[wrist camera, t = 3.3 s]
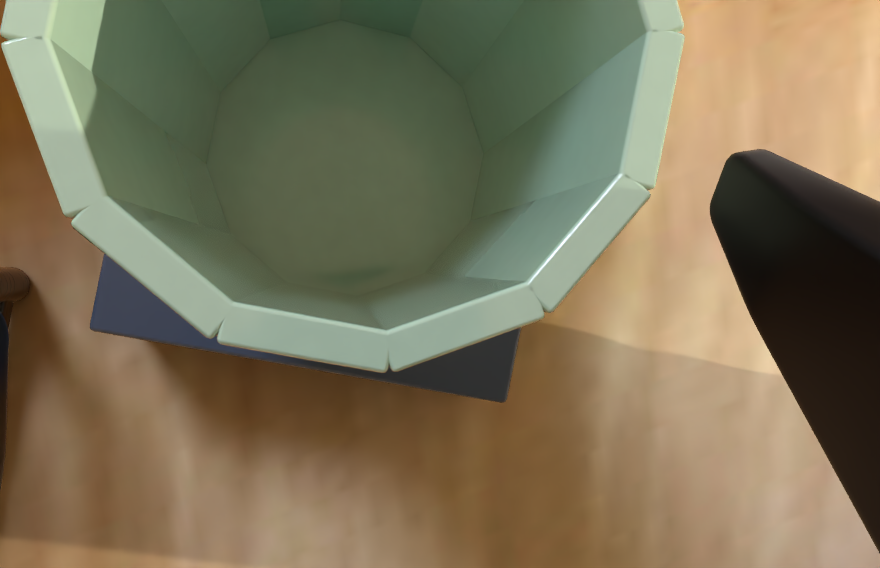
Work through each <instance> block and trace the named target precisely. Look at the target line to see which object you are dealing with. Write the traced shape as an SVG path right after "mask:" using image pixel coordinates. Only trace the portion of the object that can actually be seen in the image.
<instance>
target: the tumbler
mask: <svg viewBox="0 0 880 568" xmlns="http://www.w3.org/2000/svg"><path fill="white" fill-rule="evenodd" d="M683 28H684V22H683V19H682V16H681V12H680V9H679V6H678V2H677V0H6V4H5V9H4V14H3V19H2V24H1V29H0V34H1V36H2V37H3V38H5V39H6V40H8V41H5V42H3V43H1V47H2V51H3V54H4V56H5V59H6V62H7V64H8V67H9V70H10V72H11V75H12V78H13V80H14V83H15V86H16V89H17V91H18V94H19V97H20V99H21V102H22V105H23V107H24V110H25V113H26V115H27V118H28V121H29V123H30V126H31V129H32V132H33V134H34V137H35V140H36V142H37V145H38V148H39V150H40V153H41V156H42V158H43V161H44V164H45V166H46V169H47V172H48V175H49V177H50V180H51V183H52V185H53V188H54V191H55V193H56V196H57V199H58V201H59V204H60V207H61V209H62V212H63V214H64V215H65V216H66V217H68V218H73V220H72V222H71V225H72V227H73V228H74V229H75V230H76V231H78V232H79V233H80V234H81V235H83V236H84V237H85V238H86V239H87V240H89V241H90V242H91V243H92V244H93V245H95V246H96V247H97V248H98V249H99V250H101V251H102V252H103V253H104V254H106V255H107V256H108V257H109V258H110V259H112V260H113V261H114V262H115V263H116V264H118V265H119V266H120V267H121V268H123V269H124V270H125V271H126V272H127V273H129V274H130V275H131V276H132V277H133V278H135V279H136V280H137V281H138V282H139V283H141V284H142V285H143V286H144V287H146V288H147V289H148V290H149V291H150V292H152V293H153V294H154V295H155V296H156V297H158V298H159V299H160V300H161V301H163V302H164V303H165V304H166V305H167V306H169V307H170V308H171V309H172V310H173V311H175V312H176V313H177V314H178V315H180V316H181V317H182V318H183V319H184V320H186V321H187V322H188V323H189V324H190V325H192V326H193V327H194V328H195V329H196V330H198V331H199V332H200V333H201V334H203V335H204V336H205V337H206V338H209V339H212V338H214V337H215V336H217V342H218V343H220V344H221V345H227V346H233V347H238V348H244V349H249V350H255V351H261V352H266V353H272V354H278V355H283V356H289V357H295V358H300V359H306V360H311V361H317V362H323V363H328V364H334V365H340V366H345V367H351V368H357V369H362V370H368V371H373V372H379V373H384V372H386V371H387V370H388V367H390V369H391V370H392V371H393V372H398V371H401V370H403V369H406V368H409V367H412V366H414V365H417V364H420V363H423V362H426V361H428V360H431V359H434V358H437V357H440V356H442V355H445V354H448V353H451V352H453V351H456V350H459V349H462V348H465V347H467V346H470V345H473V344H476V343H479V342H481V341H484V340H487V339H490V338H492V337H495V336H498V335H501V334H504V333H506V332H509V331H512V330H515V329H517V328H520V327H523V326H526V325H529V324H531V323H534V322H537V321H540V320H542V319H543V318H544V312H546V313H552V312H553V311H554V310H555V309H556V308H557V307H558V305H559V304H560V303H561V302H562V301H563V300H564V298H565V297H566V296H567V295H568V294H569V292H570V291H571V290H572V289H573V288H574V287H575V285H576V284H577V283H578V282H579V281H580V280H581V278H582V277H583V276H584V275H585V274H586V272H587V271H588V270H589V269H590V268H591V267H592V265H593V264H594V263H595V262H596V261H597V259H598V258H599V257H600V256H601V255H602V254H603V252H604V251H605V250H606V249H607V248H608V247H609V245H610V244H611V243H612V242H613V241H614V239H615V238H616V237H617V236H618V235H619V234H620V232H621V231H622V230H623V229H624V228H625V226H626V225H627V224H628V223H629V222H630V221H631V219H632V218H633V217H634V216H635V215H636V213H637V212H638V211H639V210H640V209H641V208H642V206H643V205H644V204H645V203H646V202H647V201H648V199H649V198H650V193H649V191H648V190H651V189H653V188H654V187H655V185H656V180H657V175H658V170H659V165H660V160H661V155H662V150H663V145H664V140H665V135H666V130H667V124H668V119H669V114H670V109H671V104H672V99H673V94H674V89H675V84H676V79H677V74H678V69H679V64H680V59H681V54H682V49H683V44H684V39H685V37H684V35H683V34H681V33H679V32H680V31H681V30H683Z"/></svg>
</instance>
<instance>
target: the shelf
mask: <svg viewBox="0 0 880 568" xmlns="http://www.w3.org/2000/svg"><path fill="white" fill-rule="evenodd" d="M90 329H91V330H93V331H96V332H101V333H107V334H113V335H118V336H124V337H130V338H136V339H141V340H147V341H153V342H158V343H164V344H170V345H175V346H181V347H187V348H193V349H198V350H204V351H210V352H215V353H221V354H227V355H232V356H238V357H244V358H250V359H255V360H261V361H267V362H272V363H278V364H284V365H290V366H295V367H301V368H307V369H312V370H318V371H324V372H329V373H335V374H341V375H347V376H352V377H358V378H364V379H369V380H375V381H381V382H386V383H392V384H398V385H404V386H409V387H415V388H421V389H426V390H432V391H438V392H443V393H449V394H455V395H461V396H466V397H472V398H478V399H483V400H489V401H495V402H500V403H503V402H505V401H506V400H507V396H508V391H509V386H510V381H511V376H512V371H513V366H514V361H515V356H516V351H517V346H518V341H519V336H520V331H521V327H520V328H517V329H515V330H512V331H509V332H506V333H504V334H501V335H498V336H495V337H492V338H490V339H487V340H484V341H481V342H479V343H476V344H473V345H470V346H467V347H465V348H462V349H459V350H456V351H453V352H451V353H448V354H445V355H442V356H440V357H437V358H434V359H431V360H428V361H426V362H423V363H420V364H417V365H414V366H412V367H409V368H406V369H403V370H401V371H398V372H393V371H392V370H391V369H390V367H388V370H387V371H386V372H384V373H379V372H373V371H368V370H362V369H357V368H351V367H345V366H340V365H334V364H328V363H323V362H317V361H311V360H306V359H300V358H295V357H289V356H283V355H278V354H272V353H266V352H261V351H255V350H249V349H244V348H238V347H233V346H227V345H221V344H220V343H218V342H217V336H215V337H214V338H212V339H209V338H206V337H205V336H204V335H203V334H201V333H200V332H199V331H198V330H196V329H195V328H194V327H193V326H192V325H190V324H189V323H188V322H187V321H186V320H184V319H183V318H182V317H181V316H180V315H178V314H177V313H176V312H175V311H173V310H172V309H171V308H170V307H169V306H167V305H166V304H165V303H164V302H163V301H161V300H160V299H159V298H158V297H156V296H155V295H154V294H153V293H152V292H150V291H149V290H148V289H147V288H146V287H144V286H143V285H142V284H141V283H139V282H138V281H137V280H136V279H135V278H133V277H132V276H131V275H130V274H129V273H127V272H126V271H125V270H124V269H123V268H121V267H120V266H119V265H118V264H116V263H115V262H114V261H113V260H112V259H110V258H109V257H108V256H107V255H106V254H104V257H103V262H102V267H101V272H100V277H99V282H98V287H97V292H96V297H95V302H94V307H93V312H92V317H91V322H90Z"/></svg>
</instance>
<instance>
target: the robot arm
mask: <svg viewBox="0 0 880 568" xmlns="http://www.w3.org/2000/svg"><path fill="white" fill-rule="evenodd" d="M710 216H711V220H712V223H713V226H714V228H715V231H716V233H717V236H718V238H719V241H720V243H721V245H722V248H723V250H724V253H725V255H726V258H727V260H728V263H729V265H730V268H731V270H732V273H733V275H734V277H735V280H736V282H737V285H738V287H739V290H740V292H741V295H742V297H743V300H744V302H745V304H746V306H747V309H748V311H749V313H750V315H751V317H752V319H753V321H754V323H755V325H756V327H757V329H758V331H759V333H760V335H761V337H762V338H763V340H764V342H765V344H766V346H767V348H768V349H769V351H770V353H771V355H772V357H773V359H774V360H775V362H776V364H777V366H778V368H779V370H780V371H781V373H782V375H783V377H784V379H785V381H786V382H787V384H788V386H789V388H790V390H791V392H792V393H793V395H794V397H795V399H796V401H797V403H798V404H799V406H800V408H801V410H802V412H803V414H804V415H805V417H806V419H807V421H808V423H809V425H810V426H811V428H812V430H813V432H814V434H815V436H816V437H817V439H818V441H819V443H820V445H821V447H822V448H823V450H824V452H825V454H826V456H827V458H828V459H829V461H830V463H831V465H832V467H833V469H834V470H835V472H836V474H837V476H838V478H839V480H840V481H841V483H842V485H843V487H844V489H845V491H846V492H847V494H848V496H849V498H850V500H851V502H852V503H853V505H854V507H855V509H856V511H857V513H858V514H859V516H860V518H861V520H862V522H863V524H864V525H865V527H866V529H867V531H868V533H869V535H870V536H871V538H872V540H873V542H874V544H875V546H876V547H877V549H878V551H879V553H880V202H879V201H877V200H874V199H872V198H870V197H868V196H866V195H863V194H861V193H859V192H857V191H855V190H853V189H850V188H848V187H846V186H844V185H842V184H839V183H837V182H835V181H833V180H831V179H829V178H826V177H824V176H822V175H820V174H818V173H816V172H813V171H811V170H809V169H807V168H805V167H802V166H800V165H798V164H796V163H794V162H792V161H789V160H787V159H785V158H783V157H781V156H778V155H776V154H774V153H772V152H770V151H767V150H763V149H757V150H750V151H743V152H737V153H734V154H732V155H731V156H730V157H729V158H728V159H727V161H726V163H725V165H724V168H723V170H722V173H721V176H720V178H719V181H718V184H717V186H716V189H715V192H714V194H713V197H712V200H711V203H710ZM8 348H9V333H8V327H7V324H6V321H5V319H4V317H3V315H2V313H1V312H0V489H1V483H2V477H3V469H4V461H5V450H6V429H7V388H8Z"/></svg>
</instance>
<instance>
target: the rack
mask: <svg viewBox="0 0 880 568" xmlns="http://www.w3.org/2000/svg"><path fill="white" fill-rule="evenodd" d="M29 289H30V281H29V278H28V276H27V275H26V274H25V273H24V272H23V271H22V270H20V269H18V268H13V267H0V312H1V313H2V315H3V317H4V319H5V321H6V324H7V327H9V322H10V317H11V312H12V307H13V302H16V301H19V300H21V299H23V298H24V297H25V296H26V295H27V293H28V292H29Z"/></svg>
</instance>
